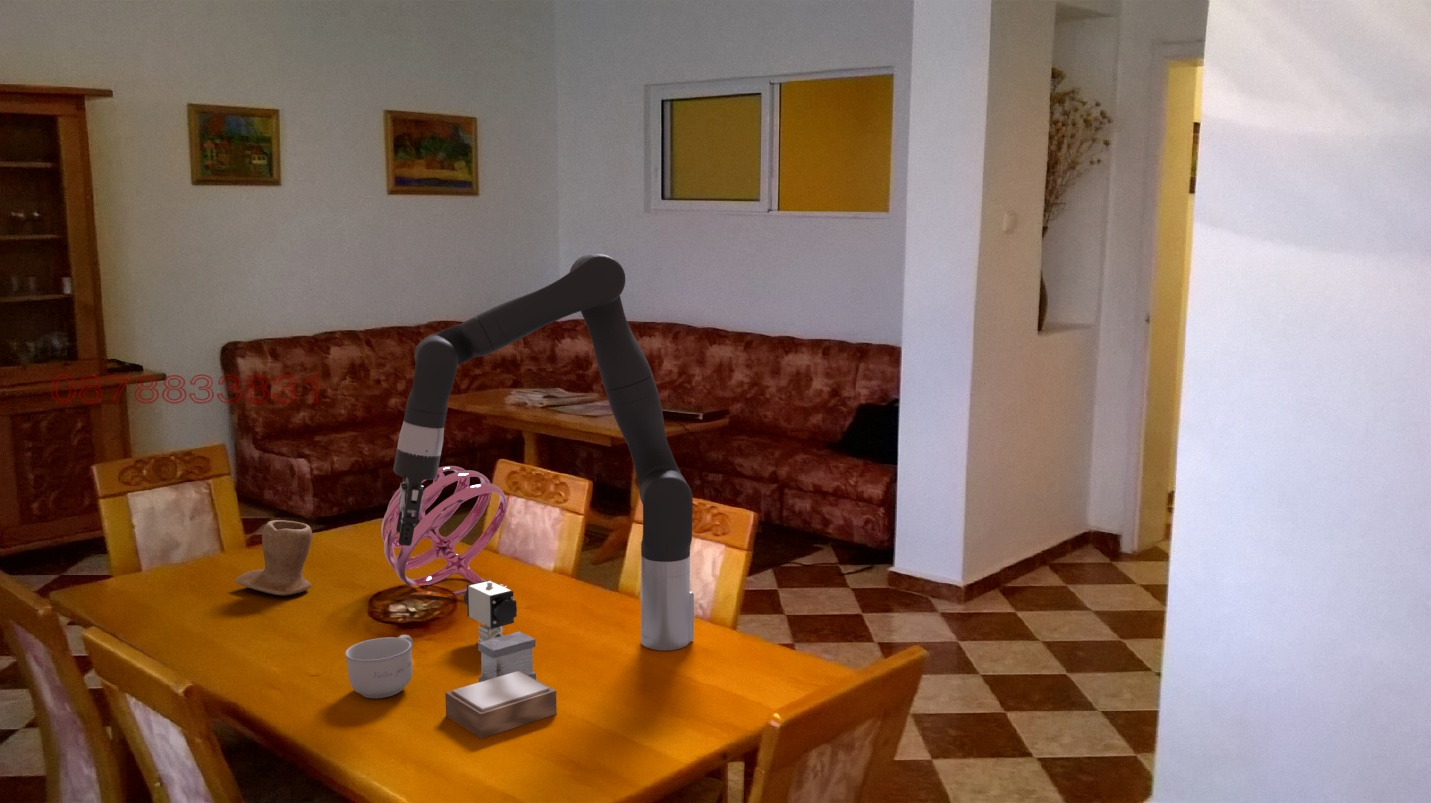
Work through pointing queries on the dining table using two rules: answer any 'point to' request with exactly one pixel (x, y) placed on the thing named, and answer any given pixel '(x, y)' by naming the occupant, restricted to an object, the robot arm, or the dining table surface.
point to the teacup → (380, 666)
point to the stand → (500, 704)
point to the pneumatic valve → (490, 607)
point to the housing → (507, 655)
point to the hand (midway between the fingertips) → (403, 538)
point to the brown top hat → (281, 559)
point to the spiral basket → (436, 519)
